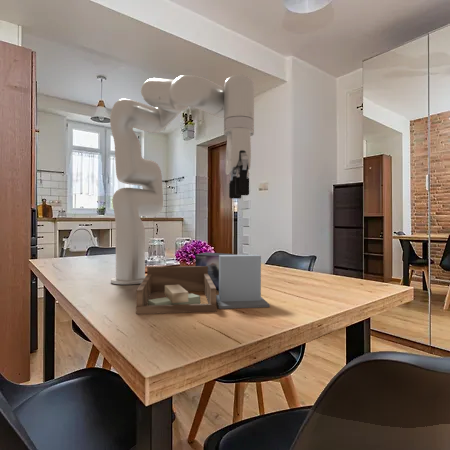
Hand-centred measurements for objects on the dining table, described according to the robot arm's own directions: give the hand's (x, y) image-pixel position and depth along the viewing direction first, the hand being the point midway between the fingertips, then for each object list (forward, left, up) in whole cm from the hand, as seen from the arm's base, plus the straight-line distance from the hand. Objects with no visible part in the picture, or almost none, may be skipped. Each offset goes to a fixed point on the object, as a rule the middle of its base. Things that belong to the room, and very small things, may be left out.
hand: (238, 196), depth 81 cm
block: (0, 0, -26) cm, 26 cm away
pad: (0, 0, -26) cm, 26 cm away
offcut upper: (+2, -15, -24) cm, 29 cm away
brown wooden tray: (-4, -15, -26) cm, 31 cm away
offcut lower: (+2, -16, -27) cm, 31 cm away
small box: (-19, -4, -27) cm, 33 cm away
